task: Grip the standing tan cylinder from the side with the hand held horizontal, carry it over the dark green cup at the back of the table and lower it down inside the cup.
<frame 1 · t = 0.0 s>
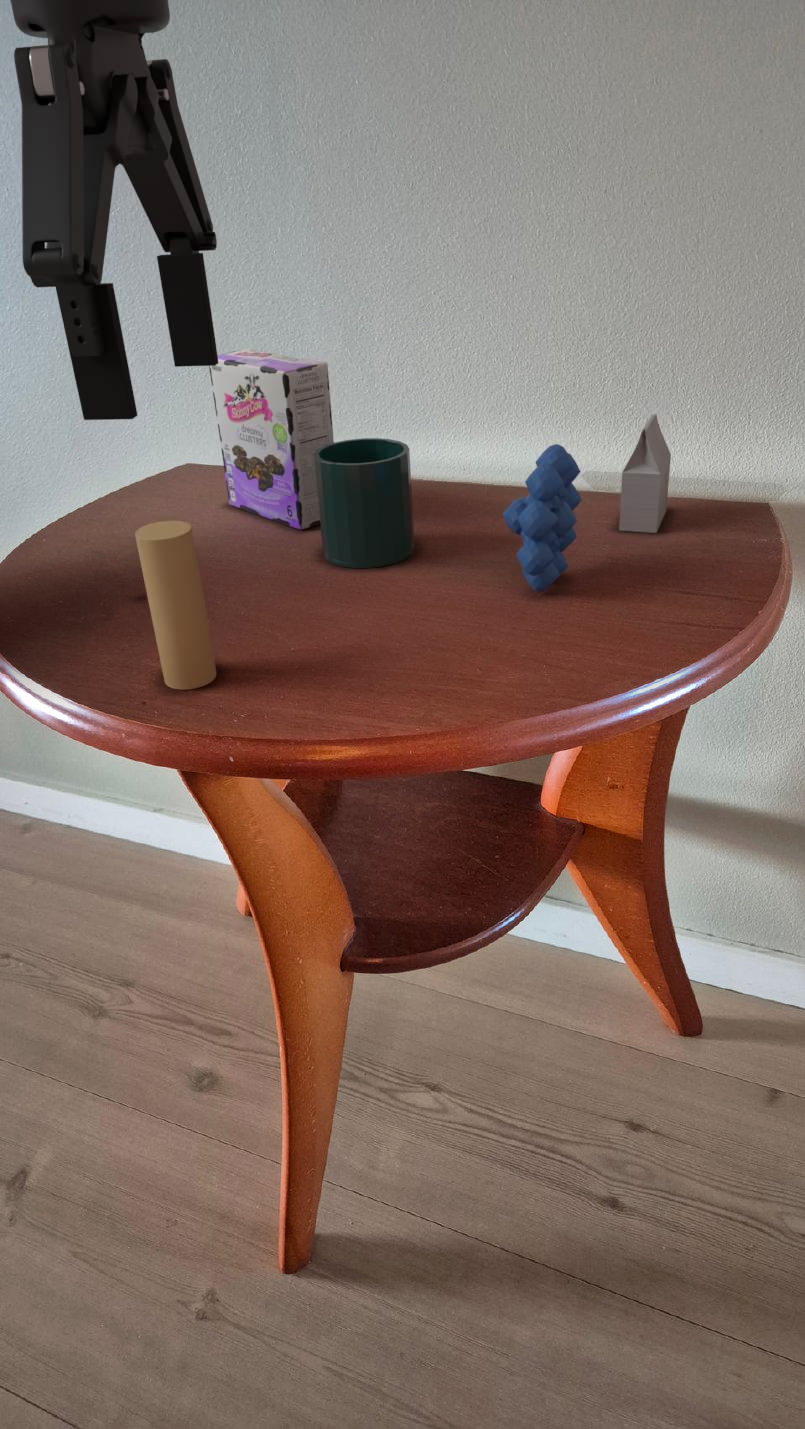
hand: (158, 389, 58), 23 cm above the table, tool pointing down, fingers open, 13 cm apart
grapes: (538, 582, 90), on the table
grey milk carton: (642, 522, 102), on the table
candy box: (283, 513, 110), on the table
tan cylinder: (190, 677, 77), on the table
dark green cup: (368, 551, 98), on the table
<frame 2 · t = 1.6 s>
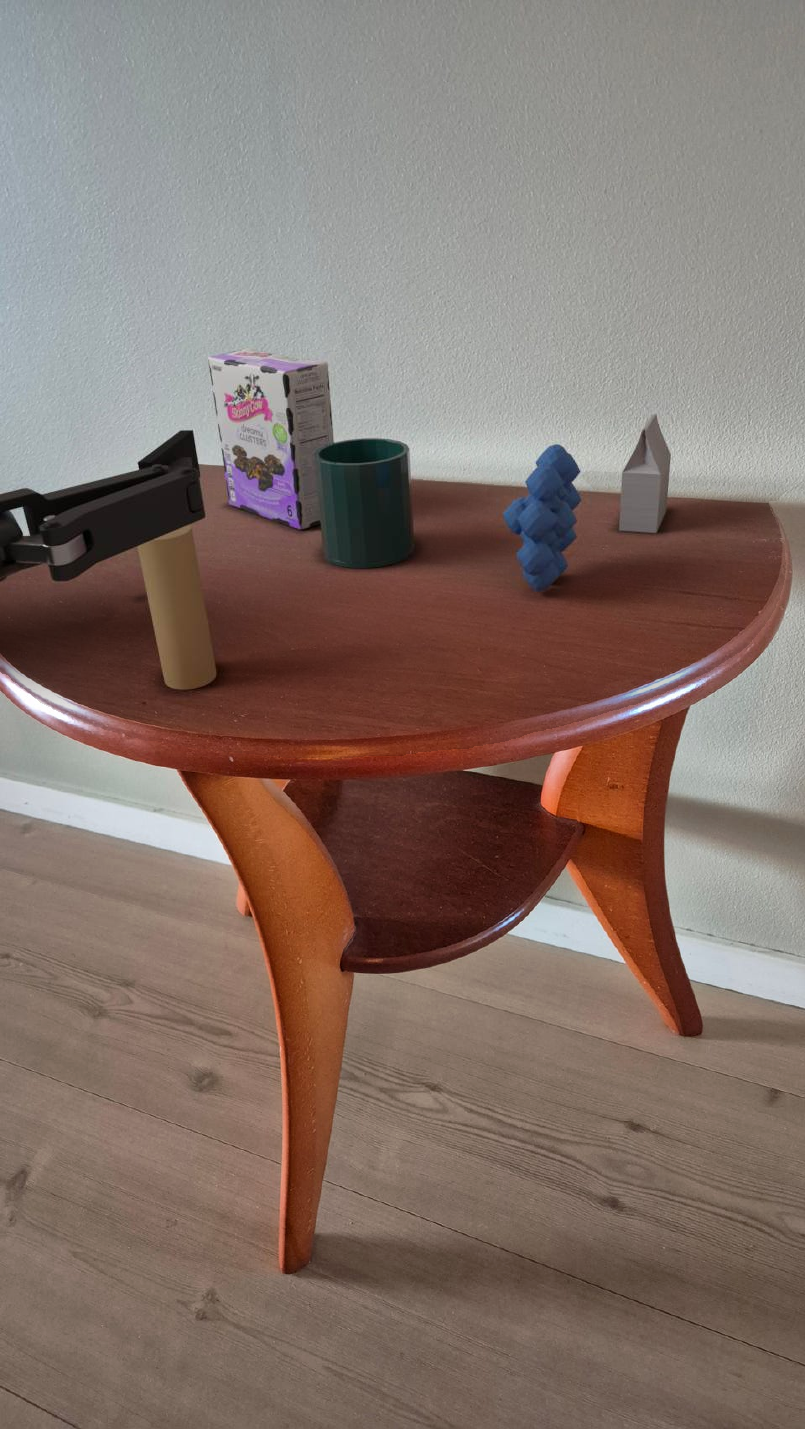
hand: (81, 455, 59), 20 cm above the table, tool horizontal, fingers open, 13 cm apart
nothing on the table moved.
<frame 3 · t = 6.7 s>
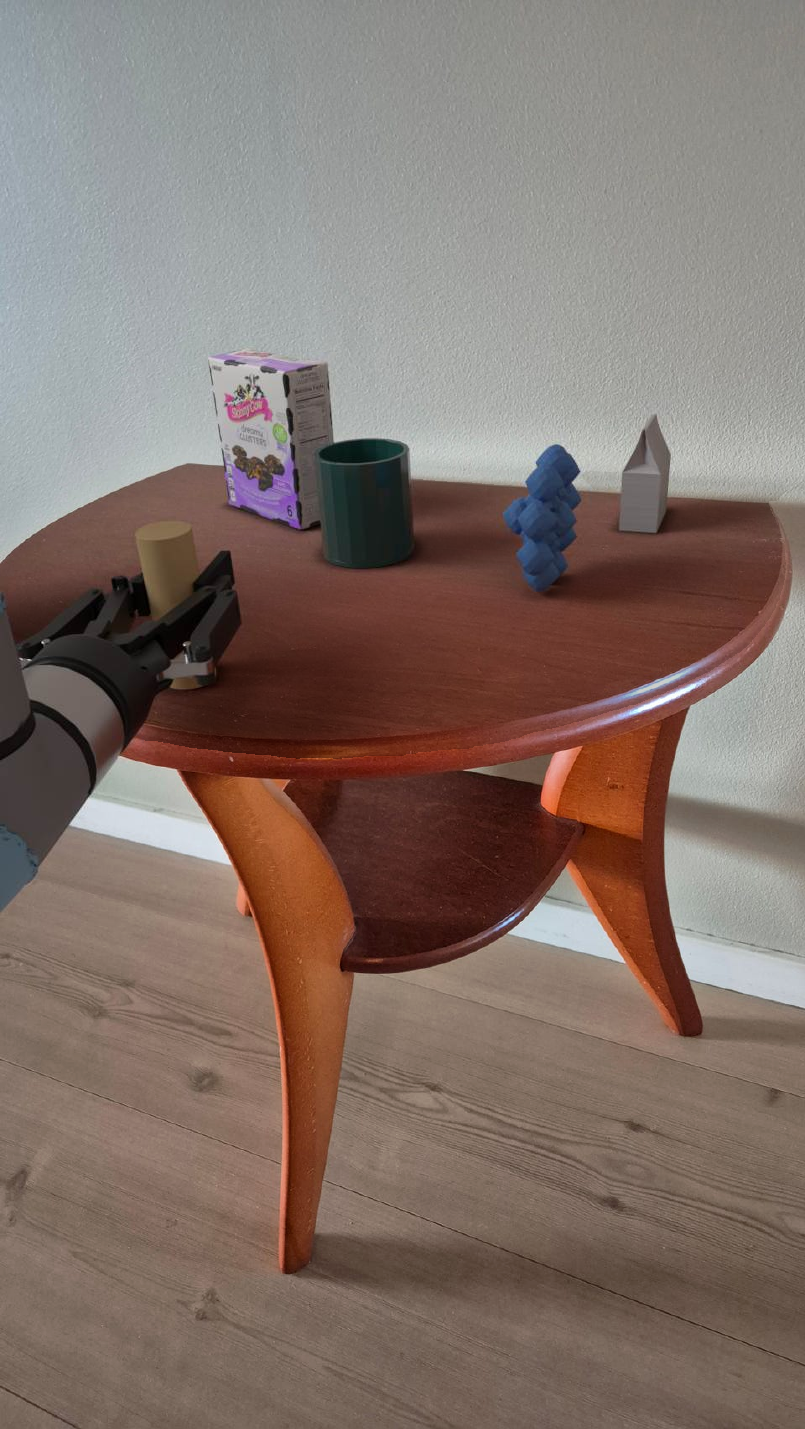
hand: (199, 566, 78), 7 cm above the table, tool horizontal, fingers closed on tan cylinder, 4 cm apart
tan cylinder: (190, 677, 77), on the table, touching gripper
everything else where it was.
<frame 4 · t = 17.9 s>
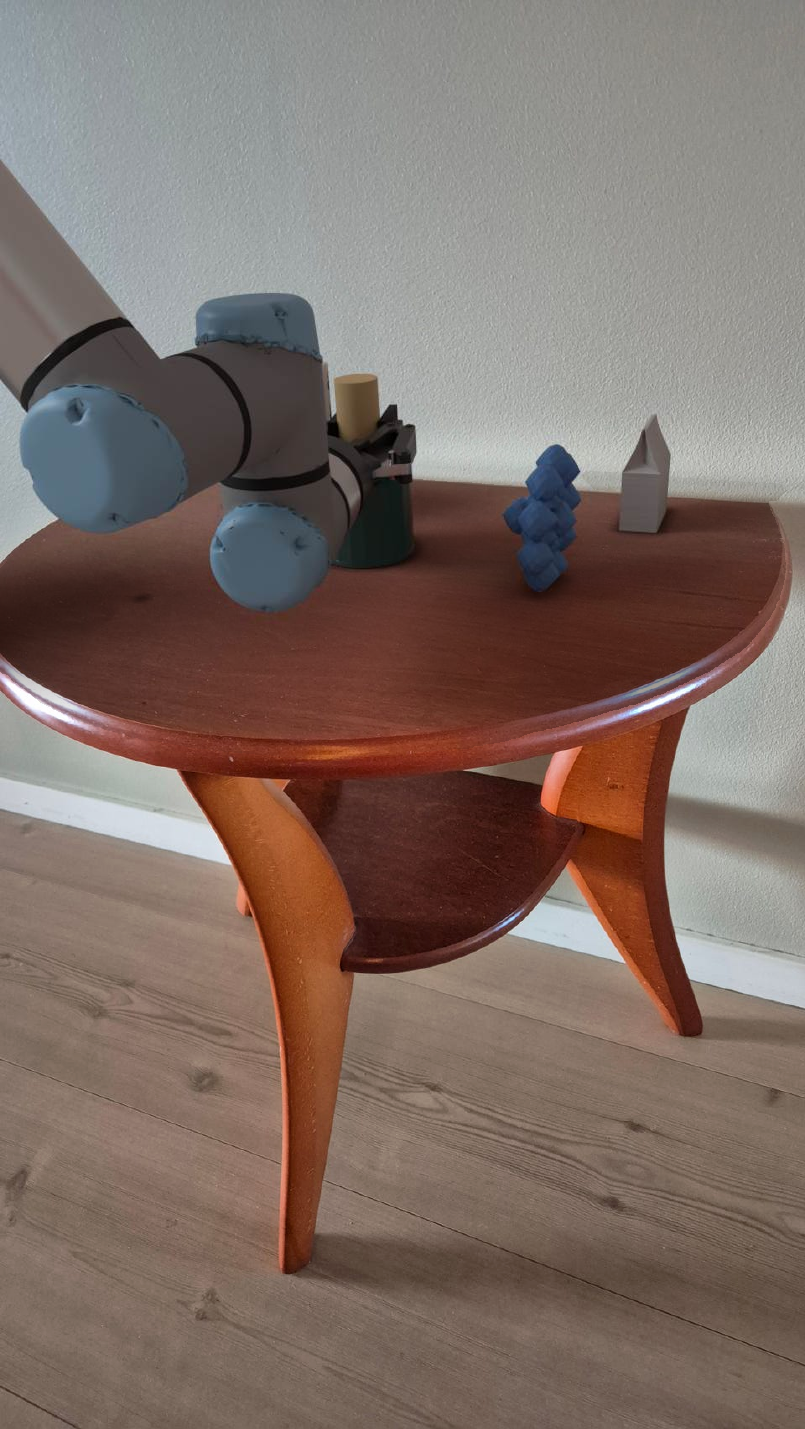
hand: (370, 419, 97), 12 cm above the table, tool horizontal, fingers closed on tan cylinder, 4 cm apart
tan cylinder: (365, 506, 96), point 5 cm above the table, touching gripper
everything else where it was.
when the fingers open (15 cm above the table, at t = 26.7 s): tan cylinder drops 7 cm, resting on dark green cup.
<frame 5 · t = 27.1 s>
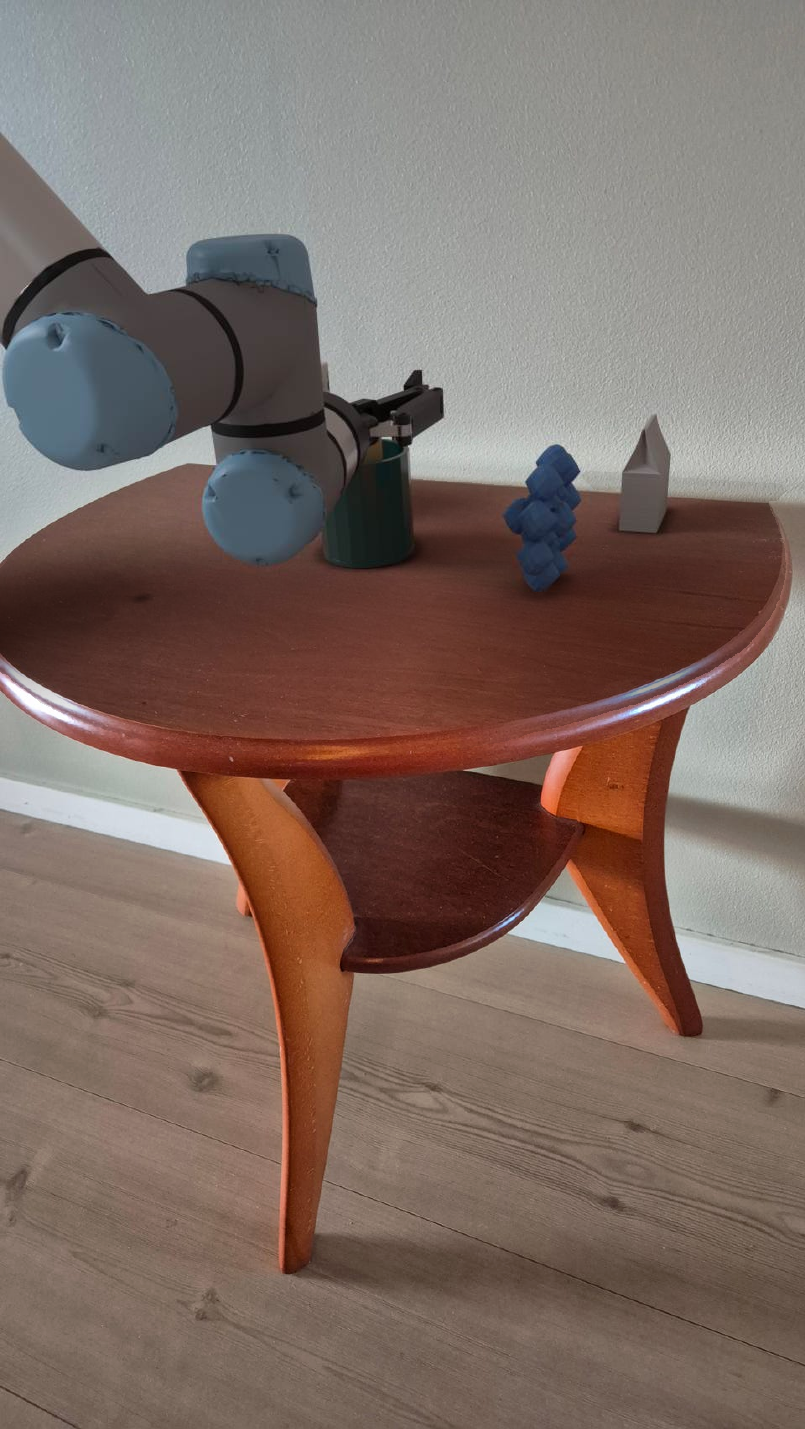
hand: (366, 385, 94), 15 cm above the table, tool horizontal, fingers open, 9 cm apart
tan cylinder: (368, 546, 98), resting on dark green cup
everything else where it was.
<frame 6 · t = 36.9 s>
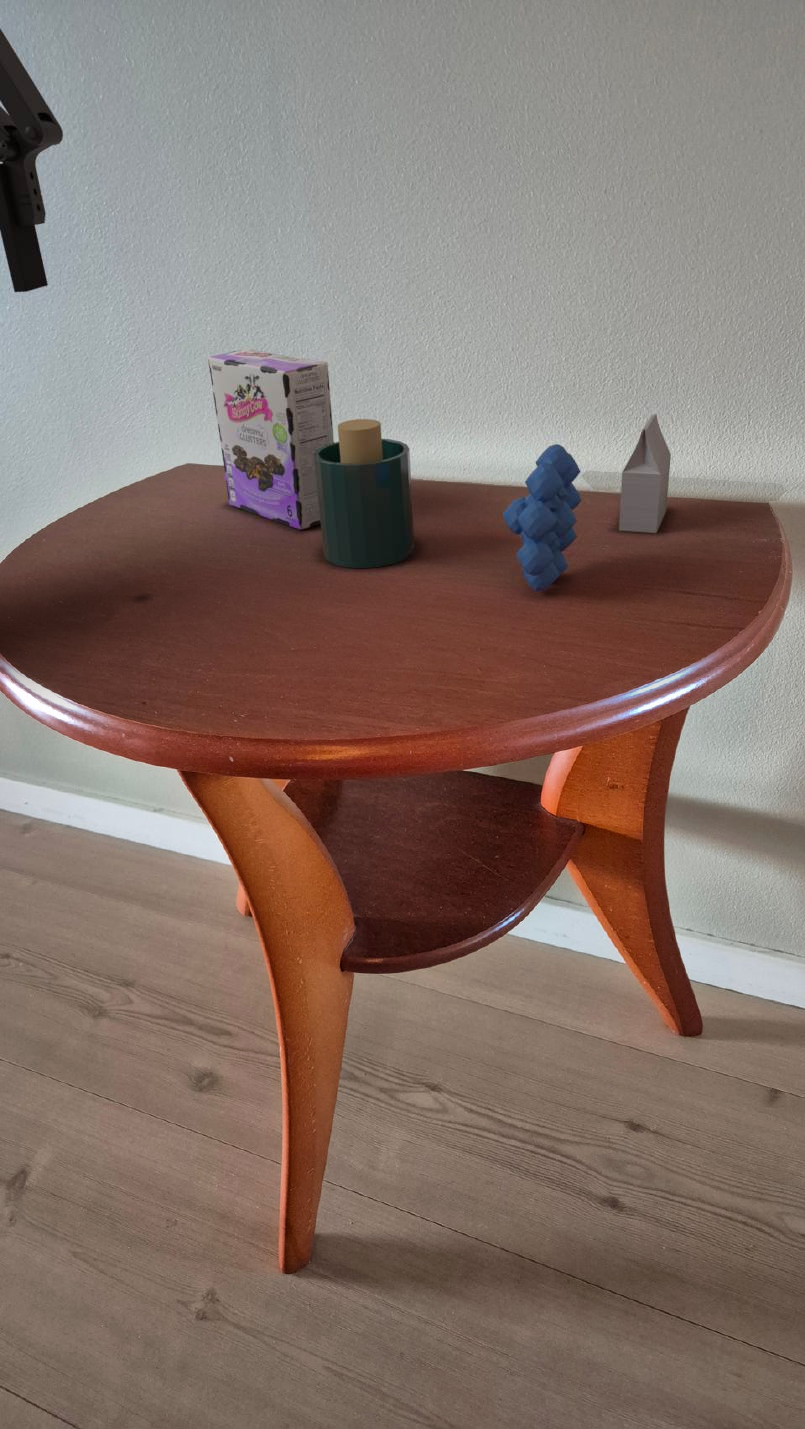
nothing on the table moved.
at the end: tan cylinder inside the target area in the dark green cup (0.1 cm from its centre), point 0.5 cm above the dark green cup's base; the gripper is holding nothing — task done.
